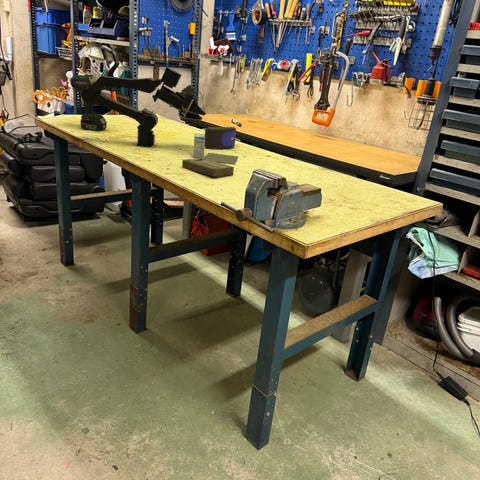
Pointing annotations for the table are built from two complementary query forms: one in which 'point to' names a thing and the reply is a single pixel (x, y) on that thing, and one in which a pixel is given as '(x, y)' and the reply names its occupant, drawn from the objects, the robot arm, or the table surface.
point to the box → (208, 167)
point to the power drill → (89, 118)
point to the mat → (221, 158)
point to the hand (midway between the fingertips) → (203, 116)
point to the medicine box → (199, 145)
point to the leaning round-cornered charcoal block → (220, 137)
